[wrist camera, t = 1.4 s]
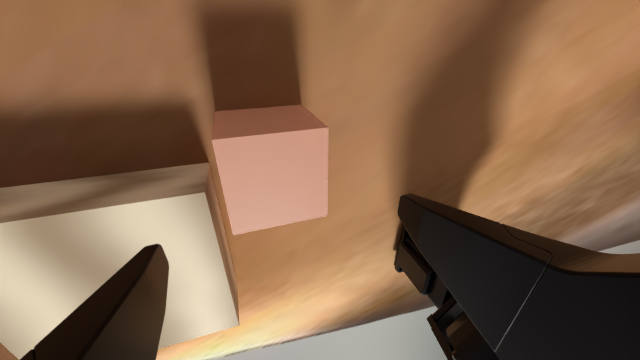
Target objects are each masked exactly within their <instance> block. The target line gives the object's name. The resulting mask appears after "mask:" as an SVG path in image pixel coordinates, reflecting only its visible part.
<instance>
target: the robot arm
mask: <svg viewBox="0 0 640 360" xmlns="http://www.w3.org/2000/svg"><path fill="white" fill-rule="evenodd" d="M398 216H399V218H400V220H401V221H402V223H403V229H402V234H401V239H400V244H399V249H398V254H397V259H396V264H395V269H396V271H397V272H403V271H404V272H405V274H406V275H407V276H408V278H409V279H410V280H411V282H412V283H413V284H414V285H415V287H416V288H417V289H418V291H419V292H420V293H421V294H422V295H427V296H428V297H429V298H430V300H431V301H432V302H433V303H434V305H435V306H436V307H437V308H438V310H437V311H436V312H435V313H434V314H431V315H430V316H429V317H428V318H427V320H428V322H429V324H430V326H431V329H432V331H433V333H434V335H435V336H436V338H437V340H438V342H439V344H440V346H441V348H442V350H443V351H444V353H445V355H446V357H447V359H448V360H640V253H639V254H608V253H601V252H597V251H593V250H589V249H585V248H582V247H578V246H575V245H571V244H568V243H564V242H561V241H557V240H553V239H550V238H546V237H543V236H540V235H536V234H533V233H529V232H526V231H523V230H520V229H517V228H514V227H511V226H508V225H505V224H500V223H498V222H495V221H492V220H489V219H486V218H483V217H480V216H477V215H474V214H471V213H468V212H465V211H462V210H459V209H456V208H453V207H450V206H447V205H444V204H441V203H438V202H435V201H432V200H429V199H426V198H423V197H420V196H417V195H414V194H405V195H402V196H401V197H400V201H399V206H398ZM168 276H169V263H168V260H167V257H166V255H165V252H164V250H163V248H162V246H161V245H160V244H153V245H148V246H145V247H144V248H142V249H141V250H140V251H139V252H138V253H137V254H136V255H135V256H134V257H133V258H131V259H130V260H129V261H128V262H127V263H126V264H125V265H124V266H123V267H122V268H120V269H119V270H118V271H117V272H116V273H115V274H114V275H113V276H112V277H110V278H109V279H108V280H107V281H106V282H105V283H104V284H103V285H102V286H101V287H99V288H98V289H97V290H96V291H95V292H94V293H93V294H92V295H91V296H90V297H88V298H87V299H86V300H85V301H84V302H83V303H82V304H81V305H80V306H78V307H77V308H76V309H75V310H74V311H73V312H72V313H71V314H70V315H69V316H67V317H66V318H65V319H64V320H63V321H62V322H61V323H60V324H59V325H57V326H56V327H55V328H54V329H53V330H52V331H51V332H50V333H49V334H48V335H46V336H45V337H44V338H43V339H42V340H41V341H40V342H39V343H38V344H36V345H35V347H34V349H31V350H30V351H29V352H28V353H26V354H25V355H24V356H23V357H22V358H21V359H20V360H156V356H157V351H158V346H159V341H160V337H161V332H162V327H163V322H164V317H165V311H166V300H167V288H168Z"/></svg>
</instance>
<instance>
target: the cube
mask: <svg viewBox="0 0 640 360" xmlns="http://www.w3.org/2000/svg"><path fill="white" fill-rule="evenodd" d="M212 144H213V148H214V153H215V157H216V161H217V166H218V170H219V175H220V179H221V184H222V188H223V193H224V197H225V201H226V206H227V210H228V215H229V219H230V224H231V228H232V233H233V235H237V234H241V233H246V232H251V231H256V230H261V229H266V228H270V227H275V226H280V225H285V224H290V223H295V222H299V221H304V220H309V219H314V218H319V217H324V216H327V212H328V127H327V126H326V125H325V124H324V123H323V122H321V121H320V120H319V119H318V118H317V117H315V116H314V115H313V114H312V113H311V112H310V111H308V110H307V109H306V108H305V107H304V106H302V105H290V106H277V107H264V108H251V109H238V110H225V111H215V118H214V126H213V134H212Z"/></svg>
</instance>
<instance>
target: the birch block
mask: <svg viewBox="0 0 640 360" xmlns="http://www.w3.org/2000/svg"><path fill="white" fill-rule="evenodd" d="M153 244H160V245H161V246H162V248H163V250H164V252H165V255H166V257H167V260H168V263H169V276H168V288H167V300H166V311H165V317H164V322H163V327H162V332H161V337H160V341H159V346H158V349H160V348H164V347H167V346H170V345H174V344H177V343H181V342H184V341H187V340H191V339H194V338H197V337H201V336H204V335H208V334H211V333H214V332H218V331H221V330H225V329H228V328H231V327H235V326H238V325H239V311H238V290H237V281H236V277H235V272H234V268H233V264H232V259H231V255H230V251H229V246H228V242H227V238H226V234H225V229H224V225H223V221H222V216H221V212H220V208H219V203H218V199H217V195H216V191H215V186H214V182H213V178H212V173H211V169H210V165H209V163H201V164H192V165H184V166H176V167H168V168H160V169H152V170H143V171H135V172H127V173H119V174H111V175H103V176H94V177H86V178H78V179H70V180H62V181H54V182H45V183H37V184H29V185H21V186H13V187H4V188H0V343H1V344H3V345H4V346H5V347H6V348H7V349H8V350H9V351H10V352H11V353H12V354H13V355H15V356H16V357H17V358H18V359H19V360H20V359H21V358H22V357H23V356H24V355H25V354H26V353H28V352H29V351H30V350H31V349H34V347H35V345H36V344H38V343H39V342H40V341H41V340H42V339H43V338H44V337H45V336H46V335H48V334H49V333H50V332H51V331H52V330H53V329H54V328H55V327H56V326H57V325H59V324H60V323H61V322H62V321H63V320H64V319H65V318H66V317H67V316H69V315H70V314H71V313H72V312H73V311H74V310H75V309H76V308H77V307H78V306H80V305H81V304H82V303H83V302H84V301H85V300H86V299H87V298H88V297H90V296H91V295H92V294H93V293H94V292H95V291H96V290H97V289H98V288H99V287H101V286H102V285H103V284H104V283H105V282H106V281H107V280H108V279H109V278H110V277H112V276H113V275H114V274H115V273H116V272H117V271H118V270H119V269H120V268H122V267H123V266H124V265H125V264H126V263H127V262H128V261H129V260H130V259H131V258H133V257H134V256H135V255H136V254H137V253H138V252H139V251H140V250H141V249H142V248H144V247H145V246H148V245H153Z"/></svg>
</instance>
